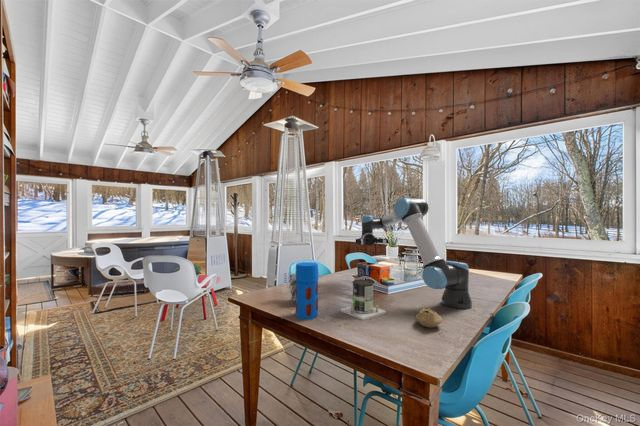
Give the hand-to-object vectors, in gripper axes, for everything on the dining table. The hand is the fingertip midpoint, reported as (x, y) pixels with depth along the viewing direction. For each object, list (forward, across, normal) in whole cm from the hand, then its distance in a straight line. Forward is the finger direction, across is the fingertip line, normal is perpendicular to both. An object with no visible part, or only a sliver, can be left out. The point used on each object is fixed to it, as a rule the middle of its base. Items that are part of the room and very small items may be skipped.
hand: (374, 242), depth 174 cm
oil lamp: (+42, -17, -32) cm, 56 cm away
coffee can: (+27, +10, -31) cm, 42 cm away
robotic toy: (+11, +44, -32) cm, 56 cm away
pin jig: (+27, +10, -32) cm, 43 cm away
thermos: (+33, +37, -32) cm, 59 cm away
